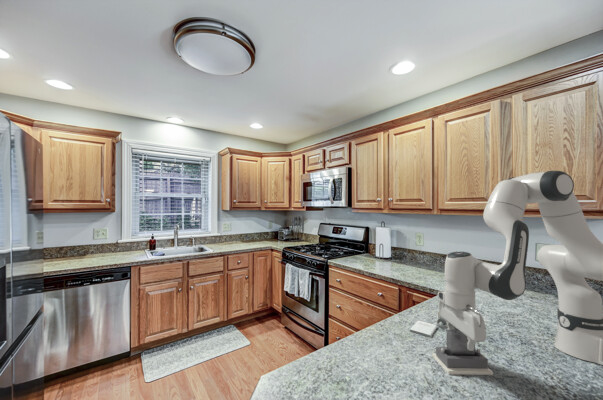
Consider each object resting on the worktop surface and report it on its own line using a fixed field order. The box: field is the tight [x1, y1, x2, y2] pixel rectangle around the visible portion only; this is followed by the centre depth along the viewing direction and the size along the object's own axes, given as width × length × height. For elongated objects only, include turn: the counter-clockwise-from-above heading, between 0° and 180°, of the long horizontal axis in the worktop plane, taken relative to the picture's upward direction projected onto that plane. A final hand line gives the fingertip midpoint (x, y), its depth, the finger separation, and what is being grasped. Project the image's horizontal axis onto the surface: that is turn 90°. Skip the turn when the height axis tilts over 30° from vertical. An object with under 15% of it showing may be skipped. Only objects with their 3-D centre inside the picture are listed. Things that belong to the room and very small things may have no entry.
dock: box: [432, 346, 494, 376], centre depth 85 cm, size 14×10×5 cm
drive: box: [445, 329, 476, 356], centre depth 85 cm, size 8×2×10 cm, turn 90°
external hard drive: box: [409, 320, 438, 339], centre depth 111 cm, size 2×8×12 cm
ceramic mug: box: [436, 312, 458, 330], centre depth 114 cm, size 11×8×8 cm
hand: (460, 341), depth 85 cm, fingers open, 8 cm apart
